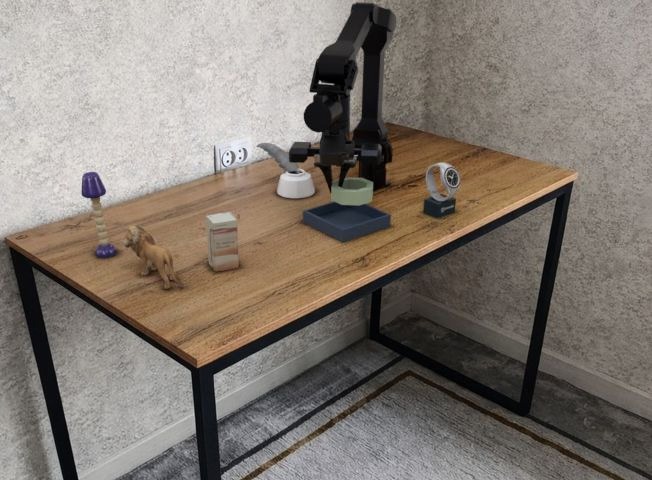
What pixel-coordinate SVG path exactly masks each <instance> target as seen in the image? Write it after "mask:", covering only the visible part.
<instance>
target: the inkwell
mask: <svg viewBox="0 0 652 480" xmlns="http://www.w3.org/2000/svg"><path fill="white" fill-rule="evenodd" d="M256 148H260V149H262V150H263V151H264V152H267V155H268V156H270V157H271V158H274V161H275V162H276V163H277V164H278V166H279V168H281V169H283V171H284V172H282V173H281V174H280V176H279V180H278V184H277V188H276V193H277V195H278V196H280V197H282V198H286V199H297V200H298V199H305V198H309V197H311V196H313V195H314V194H315V192H316V188H315V185H314V181H313V178H312V175H311V174H310V173H309V172H307V171H305V170H304V169H302V168H300V167H299V163H291V162H289V152H286V151H285V150H284V149H282V148H281V147H279V146H277V145H276V144H274V143H270V142H261V143H258V144H257V145H256Z"/></svg>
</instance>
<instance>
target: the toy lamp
mask: <svg viewBox="0 0 652 480" xmlns="http://www.w3.org/2000/svg"><path fill="white" fill-rule="evenodd" d="M106 193H107V190H106V187H105V185H104V182H103V180H102V179H101V177H100V175H99V173H98V172H96V171H88V172H84V173H83V174H82V177H81V193H80V194H81V196H82V197H83V198H85V199H90V201H91V207H92V209H93V212H92V213H93V216H94V222H95V224H96V227H95V228H96V230H97V236H98V238H99V245H97V247H96V248H95V256H96V257H97V258H102V259H103V258H104V259H106V258H107V259H108V258H111V257H113V256H115V255H117V254H118V251H117V248H116V247H115V245H114V244H112V243H110V241H109V238H108V233H107V231H106V230H107V227H106V224H105V218H104V212H103V209H102V207H103V206H102V202H101V197H103V196H105V195H106Z"/></svg>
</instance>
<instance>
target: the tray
mask: <svg viewBox="0 0 652 480" xmlns="http://www.w3.org/2000/svg"><path fill="white" fill-rule="evenodd" d="M391 220H392V214H390V213H388V212H386V211H384V210H381V209H379V208H377V207H374V206H373V205H370V204H368V203H366V204H363V205H359V206H356V205H341V204H339V203H337V202H334V201H331V202H327V203H324V204H321V205H316V206H314V207H311V208H307V209H304V210H302V223H304V224H305V225H308V226H310V227H311V228H314V229H316V230H317V231H320V232H322V233H324V234H325V235H328V236H329V237H332V238H333V239H336V240H338V241H340V242H341V243H345V242H347V241H350V240H351V241H352V240H354V239H357V238H359V237H363V236H365V235H369V234H372V233H374V232H377V231H380V230H384V229H387V228H390V227H391Z"/></svg>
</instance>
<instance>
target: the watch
mask: <svg viewBox="0 0 652 480" xmlns="http://www.w3.org/2000/svg"><path fill="white" fill-rule="evenodd" d="M437 167H439V172H440V182H441V185H442V187H443V188H444V189H445V191H446V194H444V193H439V189H438V187H437V182H436V179H435V178H436V177H435V176H434V172H435V169H436V168H437ZM424 178H425V185H426V188H427V191H428V194H429V195H430V197H428V198H424V200H423V212H422V213H423V214H425V215H428V216H430V217H433V218H436V219H440V218H443V217H445V216H448V215H451V214H453V213H455V212H456V202H457V198H455V196H456V195H457V192H458V191H459V188H460V186H461V182H462V181H461V180H462V178H461V174H460V172H459V170H458V169H457V168H455V167H454V166H453V165H452V164H450V163H447V162H445V161H442V162H438V163H435V164H432V165H430V166H429V167H428V168H427V170H426V171H425V177H424Z"/></svg>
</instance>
